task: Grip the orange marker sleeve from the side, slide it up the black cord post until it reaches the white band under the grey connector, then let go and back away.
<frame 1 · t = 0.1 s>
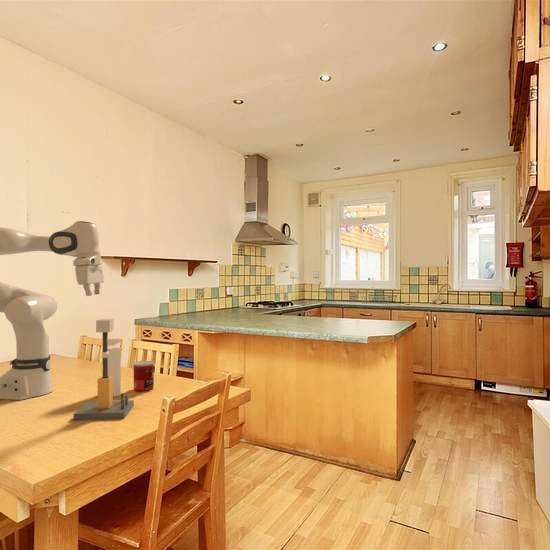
hand: (93, 295, 157), 39 cm above the table, tool pointing down, fingers open, 8 cm apart
milk: (111, 395, 152), on the table
canned food: (143, 389, 160), on the table
marker sleeve: (105, 392, 133), point 7 cm above the table, slide at 0.0 cm
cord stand: (105, 412, 133), on the table
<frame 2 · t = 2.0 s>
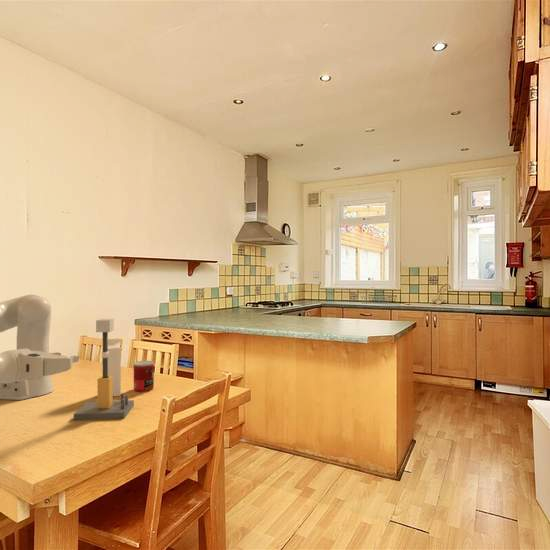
hand: (68, 356, 122), 22 cm above the table, tool horizontal, fingers open, 8 cm apart
nothing on the table moved.
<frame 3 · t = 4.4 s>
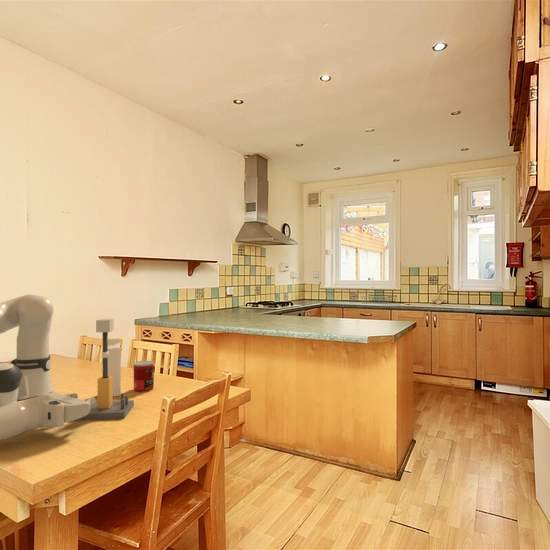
hand: (85, 398, 126), 7 cm above the table, tool horizontal, fingers open, 8 cm apart
nothing on the table moved.
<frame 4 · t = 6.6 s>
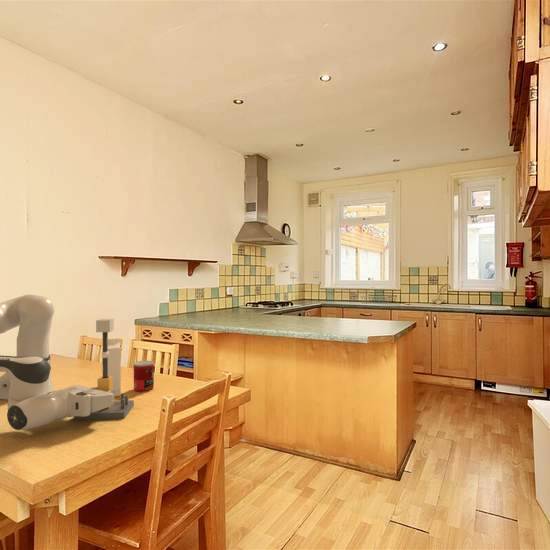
hand: (107, 390, 134), 8 cm above the table, tool horizontal, fingers closed on marker sleeve, 5 cm apart
marker sleeve: (105, 392, 133), point 7 cm above the table, slide at 0.0 cm, touching gripper
everything else where it was.
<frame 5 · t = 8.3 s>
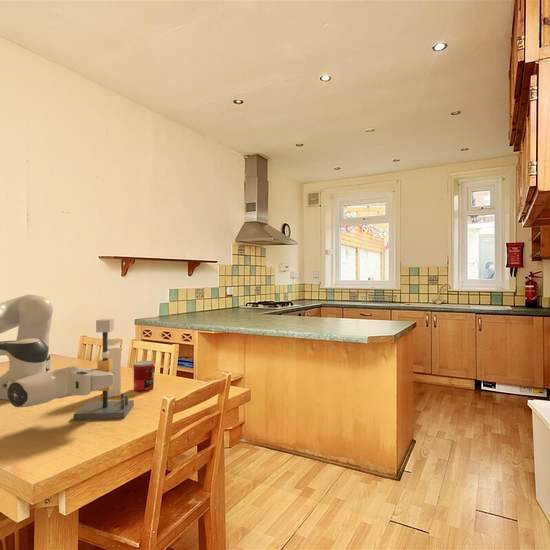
hand: (107, 371, 134), 14 cm above the table, tool horizontal, fingers closed on marker sleeve, 5 cm apart
marker sleeve: (105, 374, 133), point 13 cm above the table, slide at 6.0 cm, touching gripper
everything else where it was.
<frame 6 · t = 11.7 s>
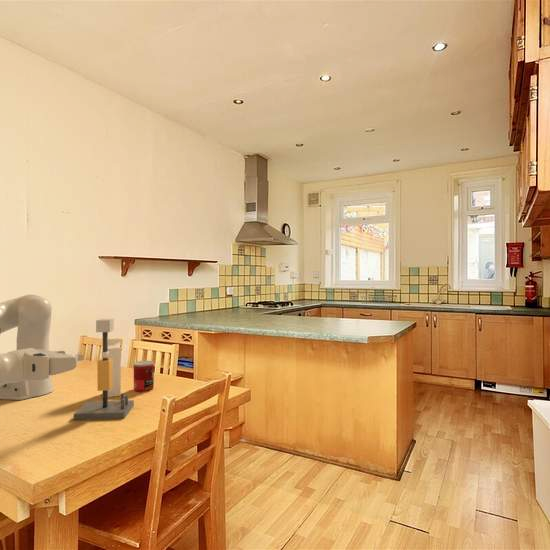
hand: (72, 355, 122), 22 cm above the table, tool horizontal, fingers open, 8 cm apart
marker sleeve: (105, 374, 133), point 13 cm above the table, slide at 6.1 cm
everything else where it was.
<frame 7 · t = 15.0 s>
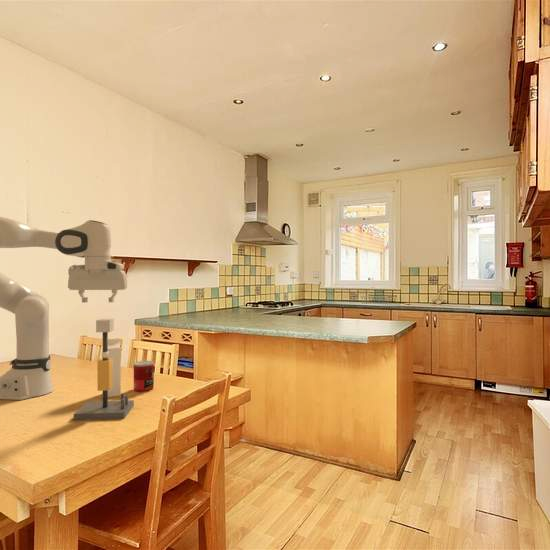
hand: (98, 302, 143), 37 cm above the table, tool pointing down, fingers open, 8 cm apart
nothing on the table moved.
at the end: marker sleeve slide at 6.1 cm; the gripper is holding nothing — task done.
